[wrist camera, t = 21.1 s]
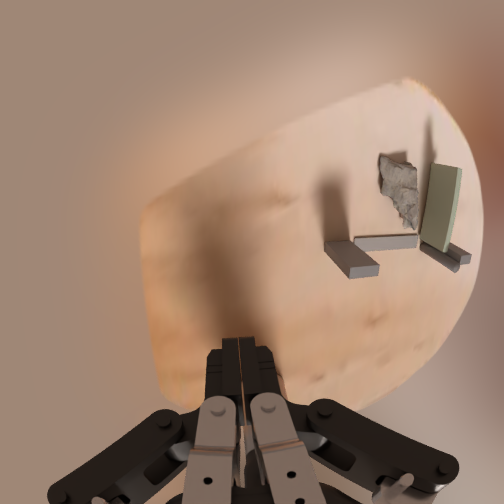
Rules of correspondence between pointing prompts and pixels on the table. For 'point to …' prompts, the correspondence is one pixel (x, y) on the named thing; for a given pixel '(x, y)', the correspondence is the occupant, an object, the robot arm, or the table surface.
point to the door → (441, 206)
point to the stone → (401, 189)
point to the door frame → (362, 265)
